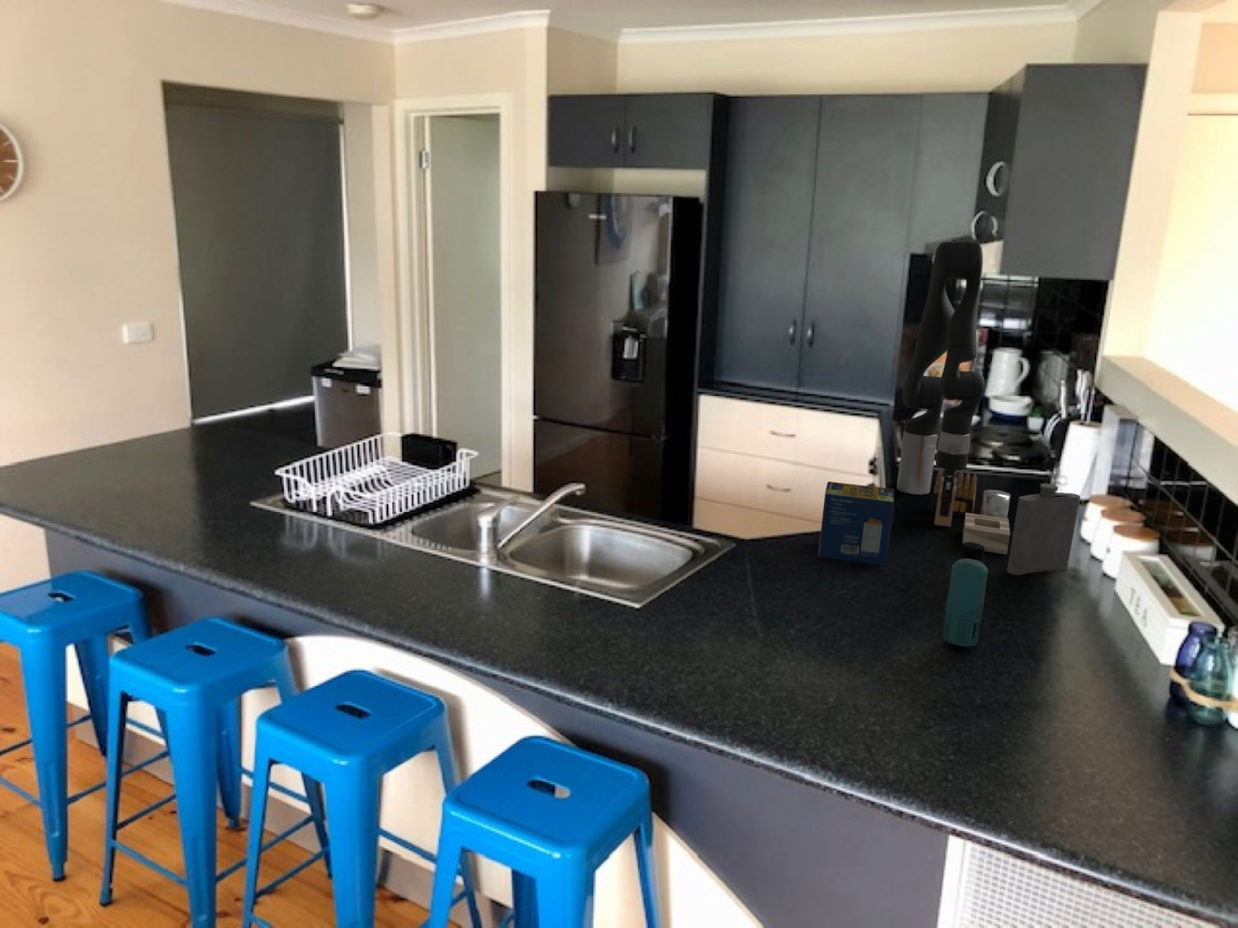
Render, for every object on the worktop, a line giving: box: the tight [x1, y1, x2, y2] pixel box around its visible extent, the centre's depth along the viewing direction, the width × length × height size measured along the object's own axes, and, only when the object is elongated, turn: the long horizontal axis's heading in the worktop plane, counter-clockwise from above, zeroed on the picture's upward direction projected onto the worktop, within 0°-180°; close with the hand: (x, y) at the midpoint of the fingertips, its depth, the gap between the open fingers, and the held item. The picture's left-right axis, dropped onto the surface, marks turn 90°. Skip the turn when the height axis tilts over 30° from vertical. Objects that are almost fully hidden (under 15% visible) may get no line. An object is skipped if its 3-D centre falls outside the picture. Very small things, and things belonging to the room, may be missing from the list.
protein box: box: [818, 481, 895, 567], centre depth 220 cm, size 10×15×16 cm
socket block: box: [962, 513, 1011, 555], centre depth 233 cm, size 13×10×5 cm
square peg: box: [934, 483, 957, 528], centre depth 245 cm, size 4×4×10 cm
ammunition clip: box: [930, 468, 977, 518], centre depth 253 cm, size 11×2×12 cm, turn 61°
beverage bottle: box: [942, 542, 989, 647], centre depth 174 cm, size 6×7×20 cm
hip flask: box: [1006, 483, 1081, 576], centre depth 214 cm, size 16×4×20 cm, turn 109°
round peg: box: [979, 489, 1011, 519], centre depth 244 cm, size 6×6×9 cm
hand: (944, 513), depth 246 cm, fingers closed on square peg, 4 cm apart
